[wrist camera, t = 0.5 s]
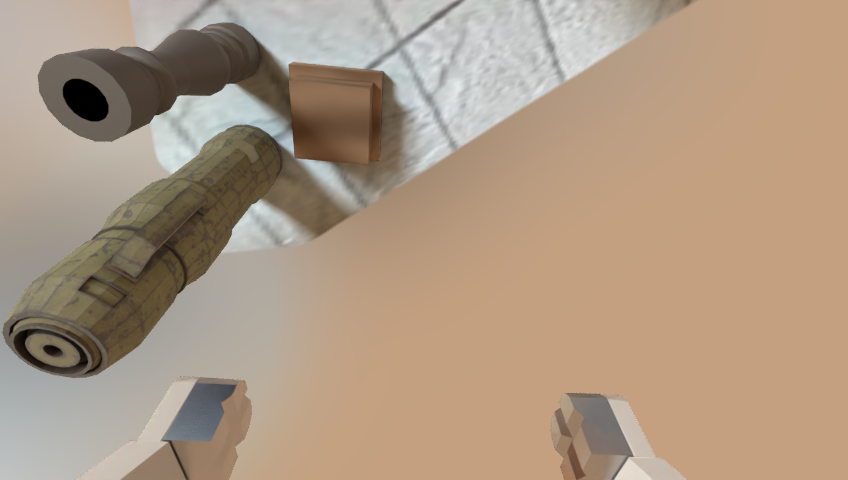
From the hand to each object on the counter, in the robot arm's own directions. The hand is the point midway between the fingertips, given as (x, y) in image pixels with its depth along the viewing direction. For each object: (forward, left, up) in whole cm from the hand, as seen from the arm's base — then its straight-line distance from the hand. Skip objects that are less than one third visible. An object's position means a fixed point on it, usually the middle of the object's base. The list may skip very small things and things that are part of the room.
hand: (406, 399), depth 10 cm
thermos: (+12, -22, -46) cm, 53 cm away
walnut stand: (+5, -9, -46) cm, 47 cm away
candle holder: (-1, -22, -46) cm, 51 cm away
